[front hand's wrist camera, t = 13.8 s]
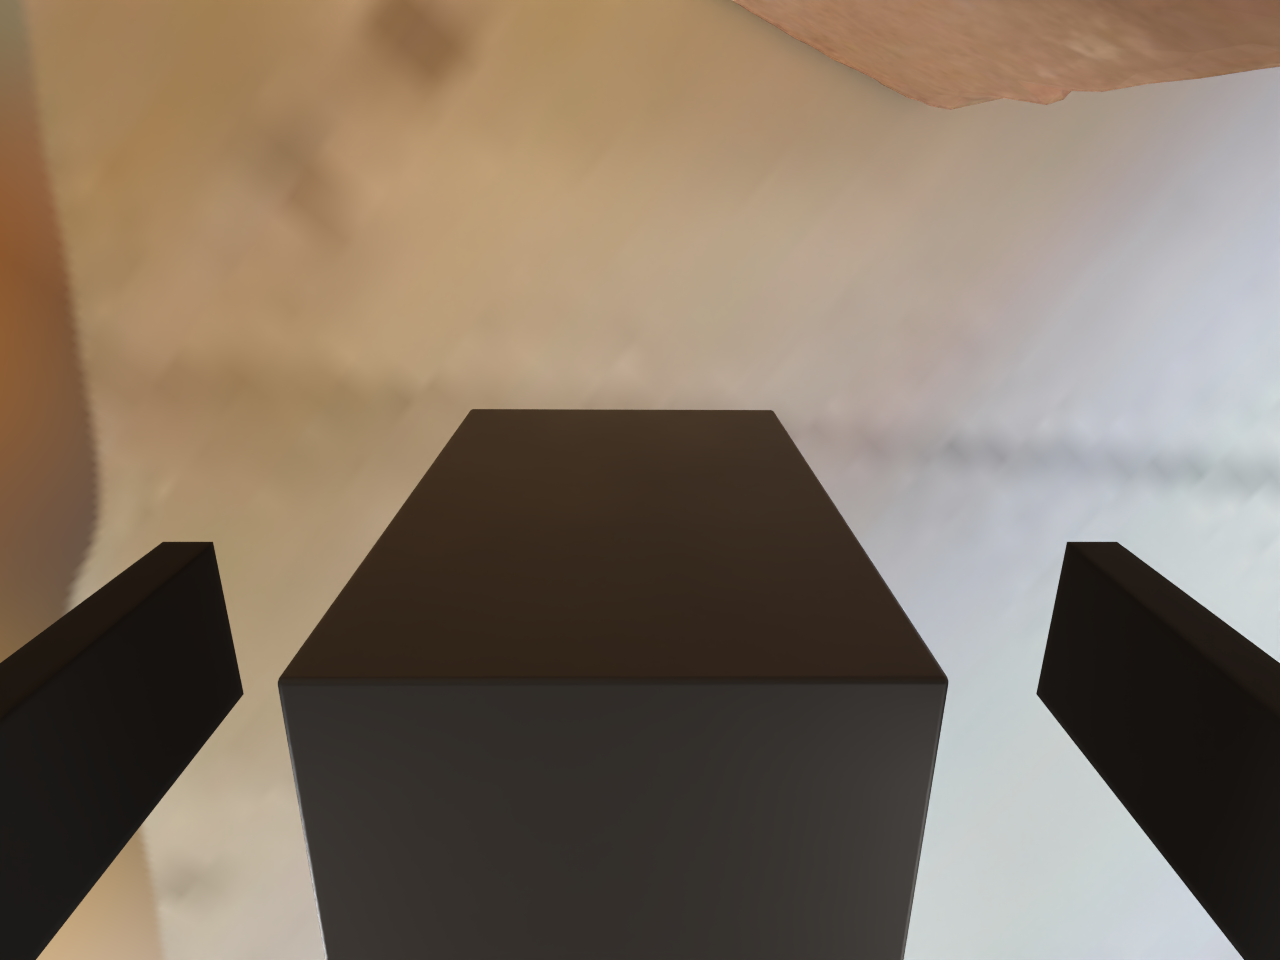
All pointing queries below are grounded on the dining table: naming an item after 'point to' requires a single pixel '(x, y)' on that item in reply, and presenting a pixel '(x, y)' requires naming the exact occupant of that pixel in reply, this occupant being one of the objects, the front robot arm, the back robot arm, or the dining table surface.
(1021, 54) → the stone
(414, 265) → the dining table surface
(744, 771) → the bar
